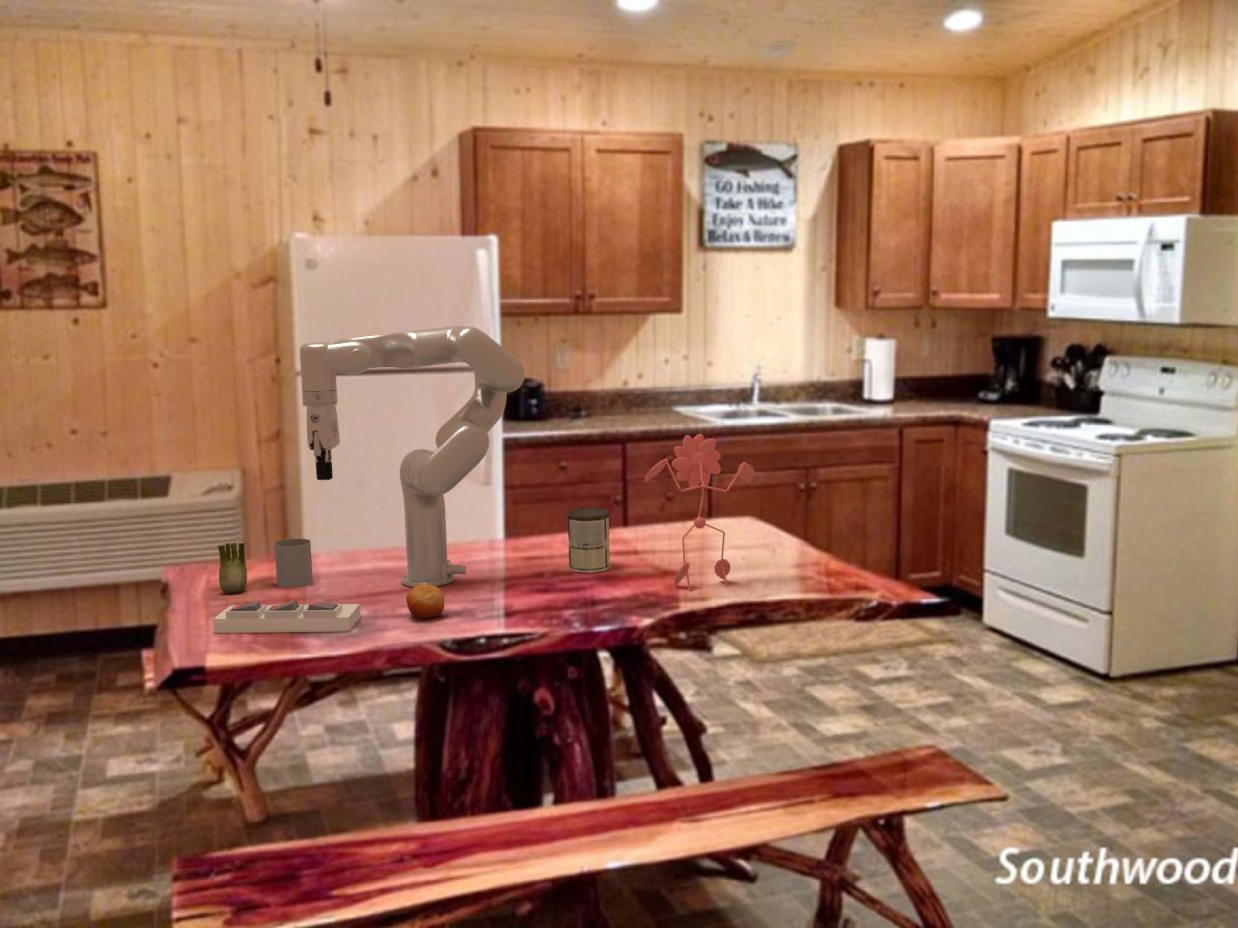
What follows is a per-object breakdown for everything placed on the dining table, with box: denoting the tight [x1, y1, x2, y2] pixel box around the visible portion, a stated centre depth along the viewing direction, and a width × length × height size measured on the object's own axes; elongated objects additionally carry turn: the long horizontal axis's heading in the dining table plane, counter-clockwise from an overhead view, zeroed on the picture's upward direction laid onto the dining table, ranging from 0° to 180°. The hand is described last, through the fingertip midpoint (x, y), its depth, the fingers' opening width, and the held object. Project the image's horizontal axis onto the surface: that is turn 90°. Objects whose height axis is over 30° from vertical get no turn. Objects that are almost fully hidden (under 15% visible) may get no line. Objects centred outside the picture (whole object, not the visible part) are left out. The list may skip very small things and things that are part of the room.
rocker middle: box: [270, 599, 300, 611], centre depth 248 cm, size 5×3×1 cm, turn 88°
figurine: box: [643, 433, 755, 592], centre depth 277 cm, size 15×26×35 cm, turn 109°
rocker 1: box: [231, 601, 261, 611], centre depth 248 cm, size 5×3×1 cm, turn 88°
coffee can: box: [566, 507, 611, 574], centre depth 293 cm, size 10×10×14 cm
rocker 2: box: [308, 600, 338, 610], centre depth 248 cm, size 5×3×1 cm, turn 89°
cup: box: [274, 538, 314, 589], centre depth 285 cm, size 8×8×10 cm
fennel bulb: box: [217, 541, 248, 594], centre depth 277 cm, size 6×5×12 cm
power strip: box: [213, 603, 362, 634], centre depth 250 cm, size 28×10×4 cm, turn 89°
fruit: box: [405, 583, 445, 621], centre depth 255 cm, size 8×8×8 cm
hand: (324, 479), depth 269 cm, fingers closed
